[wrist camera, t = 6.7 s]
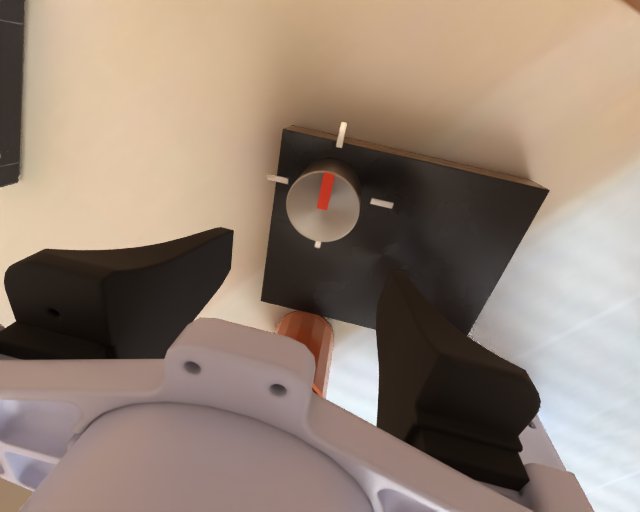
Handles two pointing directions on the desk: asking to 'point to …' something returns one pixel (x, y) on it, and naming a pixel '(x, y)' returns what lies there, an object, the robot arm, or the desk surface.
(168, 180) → the desk surface
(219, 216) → the desk surface
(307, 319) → the cup
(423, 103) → the desk surface
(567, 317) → the desk surface
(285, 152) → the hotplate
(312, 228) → the dial
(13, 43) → the disk drive
